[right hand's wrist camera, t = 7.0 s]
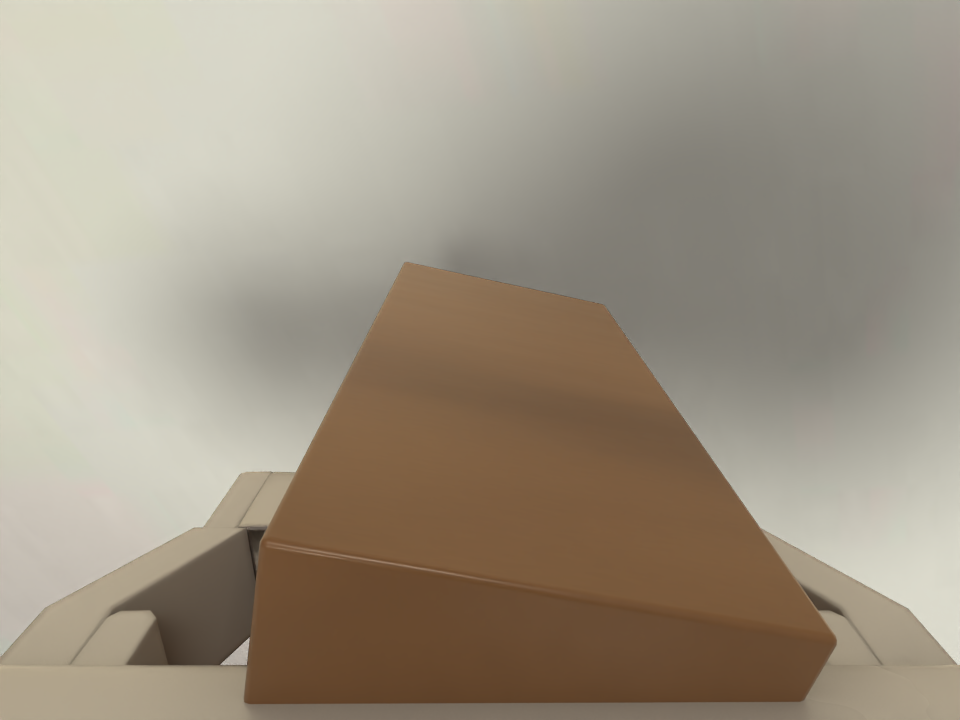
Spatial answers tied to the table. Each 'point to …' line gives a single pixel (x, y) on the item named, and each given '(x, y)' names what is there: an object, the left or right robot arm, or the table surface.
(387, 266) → the table surface
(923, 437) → the table surface
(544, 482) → the bar
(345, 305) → the table surface
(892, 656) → the right robot arm
